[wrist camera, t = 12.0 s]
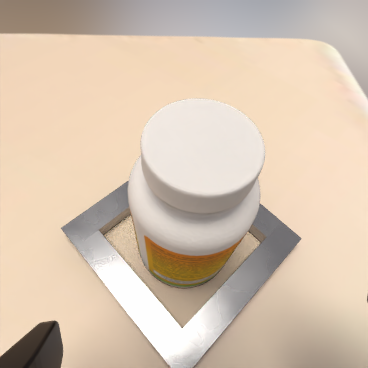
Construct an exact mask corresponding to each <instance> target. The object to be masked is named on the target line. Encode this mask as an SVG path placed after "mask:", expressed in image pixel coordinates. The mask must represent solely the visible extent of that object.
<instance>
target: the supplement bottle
mask: <svg viewBox="0 0 368 368" xmlns="http://www.w3.org/2000/svg"><path fill="white" fill-rule="evenodd" d="M264 160H265V145H264V141H263V138H262V136H261V134H260V132H259V130H258V128H257V127H256V125H255V124H254V123H253V122H252V121H251V119H249V118H248V117H247V116H246V115H245V114H243V113H242V112H241V111H239V110H238V109H236V108H234V107H232V106H230V105H227V104H225V103H222V102H218V101H215V100H209V99H185V100H180V101H176V102H173V103H171V104H168V105H166V106H164V107H163V108H161V109H160V110H158V111H157V112H156V113H155V114H154V115H153V116H152V117H151V118H150V119H149V121H148V122H147V124H146V125H145V127H144V130H143V133H142V136H141V155H140V157H139V158H138V159H137V161H136V162H135V164H134V166H133V168H132V171H131V174H130V177H129V182H128V201H129V207H130V212H131V216H132V221H133V225H134V230H135V235H136V240H137V244H138V249H139V253H140V256H141V258H142V261H143V263H144V265H145V266H146V268H147V269H148V271H149V272H150V273H151V274H152V275H153V276H154V277H156V278H157V279H158V280H160V281H161V282H163V283H165V284H168V285H170V286H174V287H179V288H189V287H195V286H198V285H201V284H203V283H205V282H207V281H209V280H210V279H212V278H213V277H214V276H215V275H216V274H217V273H218V272H219V271H220V270H221V268H222V267H223V266H224V264H225V263H226V261H227V260H228V259H229V257H230V256H231V254H232V253H233V251H234V250H235V248H236V247H237V246H238V244H239V243H240V242H241V240H242V239H243V237H244V236H245V235H246V233H247V232H248V230H249V229H250V227H251V225H252V223H253V222H254V220H255V218H256V215H257V212H258V209H259V205H260V186H259V181H258V176H259V174H260V172H261V170H262V167H263V164H264Z"/></svg>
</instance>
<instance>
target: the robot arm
mask: <svg viewBox="0 0 368 368" xmlns="http://www.w3.org/2000/svg"><path fill="white" fill-rule="evenodd" d="M367 301H368V296H367ZM62 358H63V344H62V339H61V333H60V328H59V324H58V322H57V321H48V322H42V323H39V324H38V325H37V326H36V327H34V328H33V329H32V330H31V331H30V332H29V333H27V334H26V335H25V336H24V337H23V338H22V339H20V340H19V341H18V342H17V343H16V344H15V345H13V346H12V347H11V348H10V349H9V350H8V351H6V352H5V353H4V354H3V355H2V356H1V357H0V368H61V363H62Z"/></svg>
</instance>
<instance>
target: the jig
mask: <svg viewBox="0 0 368 368" xmlns="http://www.w3.org/2000/svg"><path fill="white" fill-rule="evenodd" d="M128 182H129V181H127V182H126V183H124V184H123V185H122V186H120V187H119V188H117V189H116V190H115V191H113V192H112V193H110V194H109V195H107V196H106V197H105V198H103V199H102V200H100V201H99V202H97V203H96V204H95V205H93V206H92V207H90V208H89V209H88V210H86V211H85V212H83V213H82V214H80V215H79V216H78V217H76V218H75V219H73V220H72V221H70V222H69V223H68V224H66V225H65V226H63V227H62V228H61V229H62V230H63V232H64V233H65V234H66V235H67V237H68V238H69V239H70V241H71V242H72V243H73V244H74V246H75V247H76V248H77V249H78V251H79V252H80V253H81V254H82V256H83V257H84V258H85V260H86V261H87V262H88V263H89V265H90V266H91V267H92V268H93V270H94V271H95V272H96V274H97V275H98V276H99V277H100V279H101V280H102V281H103V282H104V284H105V285H106V286H107V288H108V289H109V290H110V291H111V293H112V294H113V295H114V296H115V298H116V299H117V300H118V301H119V303H120V304H121V305H122V307H123V308H124V309H125V310H126V312H127V313H128V314H129V315H130V317H131V318H132V319H133V321H134V322H135V323H136V324H137V326H138V327H139V328H140V329H141V331H142V332H143V333H144V335H145V336H146V337H147V338H148V340H149V341H150V342H151V343H152V345H153V346H154V347H155V348H156V350H157V351H158V352H159V354H160V355H161V356H162V357H163V359H164V360H165V361H166V362H167V364H168V365H169V366H170V368H193V367H194V366H195V364H196V363H197V362H198V361H199V360H200V358H201V357H202V356H203V355H204V354H205V352H206V351H207V350H208V349H209V348H210V347H211V345H212V344H213V343H214V342H215V341H216V339H217V338H218V337H219V336H220V335H221V334H222V332H223V331H224V330H225V329H226V328H227V326H228V325H229V324H230V323H231V322H232V320H233V319H234V318H235V317H236V316H237V315H238V313H239V312H240V311H241V310H242V309H243V307H244V306H245V305H246V304H247V303H248V302H249V300H250V299H251V298H252V297H253V296H254V294H255V293H256V292H257V291H258V290H259V288H260V287H261V286H262V285H263V284H264V283H265V281H266V280H267V279H268V278H269V277H270V275H271V274H272V273H273V272H274V271H275V269H276V268H277V267H278V266H279V265H280V264H281V262H282V261H283V260H284V259H285V258H286V256H287V255H288V254H289V253H290V252H291V251H292V249H293V248H294V247H295V246H296V245H297V243H298V242H299V241H300V240H301V238H300V237H299V236H298V235H297V234H296V233H294V232H293V231H292V230H291V229H290V228H288V227H287V226H286V225H285V224H284V223H283V222H281V221H280V220H279V219H278V218H277V217H276V216H274V215H273V214H272V213H271V212H270V211H268V210H267V209H266V208H265V207H264V206H263V205H261V204H260V205H259V209H258V212H257V215H256V218H255V220H254V222H253V223H252V225H251V227H250V229H249V230H248V231H249V232H250V233H251V234H253V235H254V236H255V237H256V238H257V239H258V240H259V241H260V242H261V244H260V245H259V246H258V247H257V248H256V249H255V250H254V252H253V253H252V254H251V255H250V256H249V257H248V258H247V259H246V260H245V261H244V262H243V263H242V265H241V266H240V267H239V268H238V269H237V270H236V271H235V272H234V273H233V274H232V275H231V276H230V277H229V279H228V280H227V281H226V282H225V283H224V284H223V285H222V286H221V287H220V288H219V289H218V290H217V292H216V293H215V294H214V295H213V296H212V297H211V298H210V299H209V300H208V301H207V302H206V303H205V305H204V306H203V307H202V308H201V309H200V310H199V311H198V312H197V313H196V314H195V315H194V316H193V317H192V319H191V320H190V321H189V322H188V323H187V324H186V325H185V326H184V327H183V328H181V327H180V325H179V324H178V323H177V322H176V321H175V319H174V318H173V317H172V316H171V315H170V314H169V312H168V311H167V310H166V309H165V308H164V307H163V305H162V304H161V303H160V302H159V301H158V299H157V298H156V297H155V296H154V295H153V294H152V292H151V291H150V290H149V289H148V288H147V287H146V285H145V284H144V283H143V282H142V281H141V279H140V278H139V277H138V276H137V275H136V274H135V272H134V271H133V270H132V269H131V268H130V267H129V265H128V264H127V263H126V262H125V261H124V259H123V258H122V257H121V256H120V255H119V254H118V252H117V251H116V250H115V249H114V248H113V246H112V245H111V244H110V243H109V242H108V241H107V239H106V238H105V237H104V236H103V235H104V234H105V233H106V232H108V231H109V230H110V229H111V228H113V227H114V226H115V225H117V224H118V223H119V222H121V221H122V220H123V219H124V218H126V217H127V216H128V215H130V214H131V212H130V207H129V201H128Z"/></svg>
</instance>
